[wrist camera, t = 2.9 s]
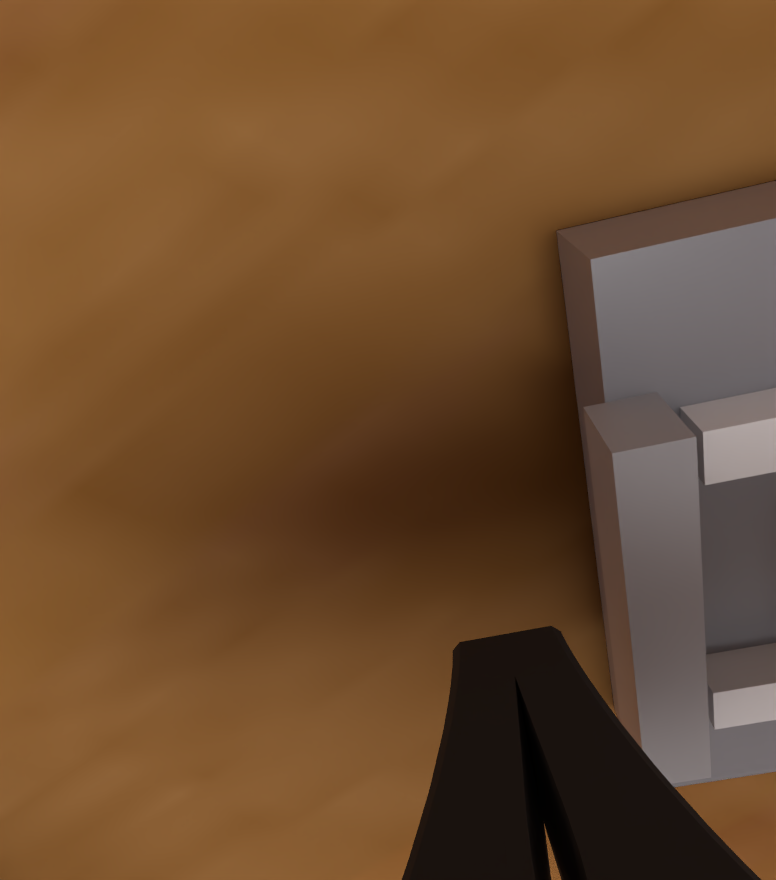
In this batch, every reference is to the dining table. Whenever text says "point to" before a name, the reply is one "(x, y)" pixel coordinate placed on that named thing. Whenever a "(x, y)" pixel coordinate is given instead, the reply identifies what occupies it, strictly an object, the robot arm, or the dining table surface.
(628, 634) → the grey flat railed block
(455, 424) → the dining table surface
